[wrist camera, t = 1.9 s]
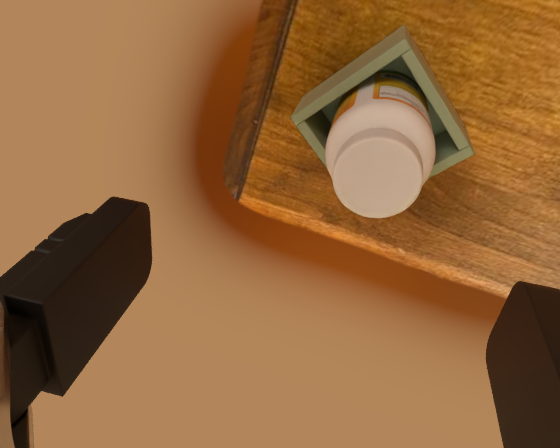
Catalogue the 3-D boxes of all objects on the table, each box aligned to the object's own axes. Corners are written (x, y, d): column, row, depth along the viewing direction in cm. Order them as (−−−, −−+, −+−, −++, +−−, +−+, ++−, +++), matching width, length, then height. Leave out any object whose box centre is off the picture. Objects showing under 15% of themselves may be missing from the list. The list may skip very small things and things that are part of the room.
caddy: (302, 96, 30) (289, 117, 26) (404, 24, 27) (405, 37, 23) (364, 183, 32) (360, 214, 28) (465, 127, 29) (475, 154, 25)
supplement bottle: (353, 163, 31) (337, 243, 23) (326, 85, 29) (299, 142, 21) (437, 140, 29) (452, 218, 21) (416, 54, 27) (423, 105, 19)
